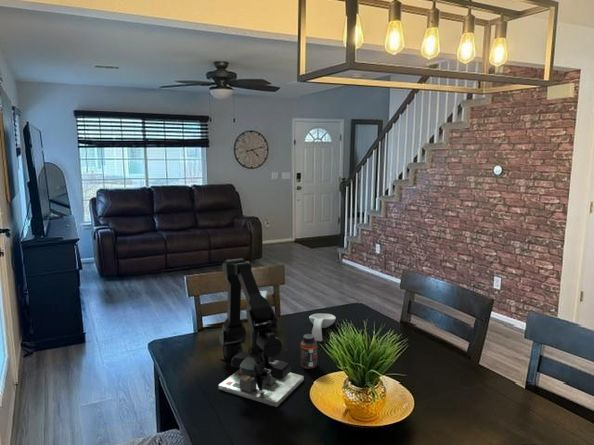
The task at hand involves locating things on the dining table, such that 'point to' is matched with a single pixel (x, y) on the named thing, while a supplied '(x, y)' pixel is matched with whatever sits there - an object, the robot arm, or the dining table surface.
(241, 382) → the grey cube
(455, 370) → the dining table surface
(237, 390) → the panel
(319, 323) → the spoon rest
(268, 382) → the block
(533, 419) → the dining table surface
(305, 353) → the supplement bottle
